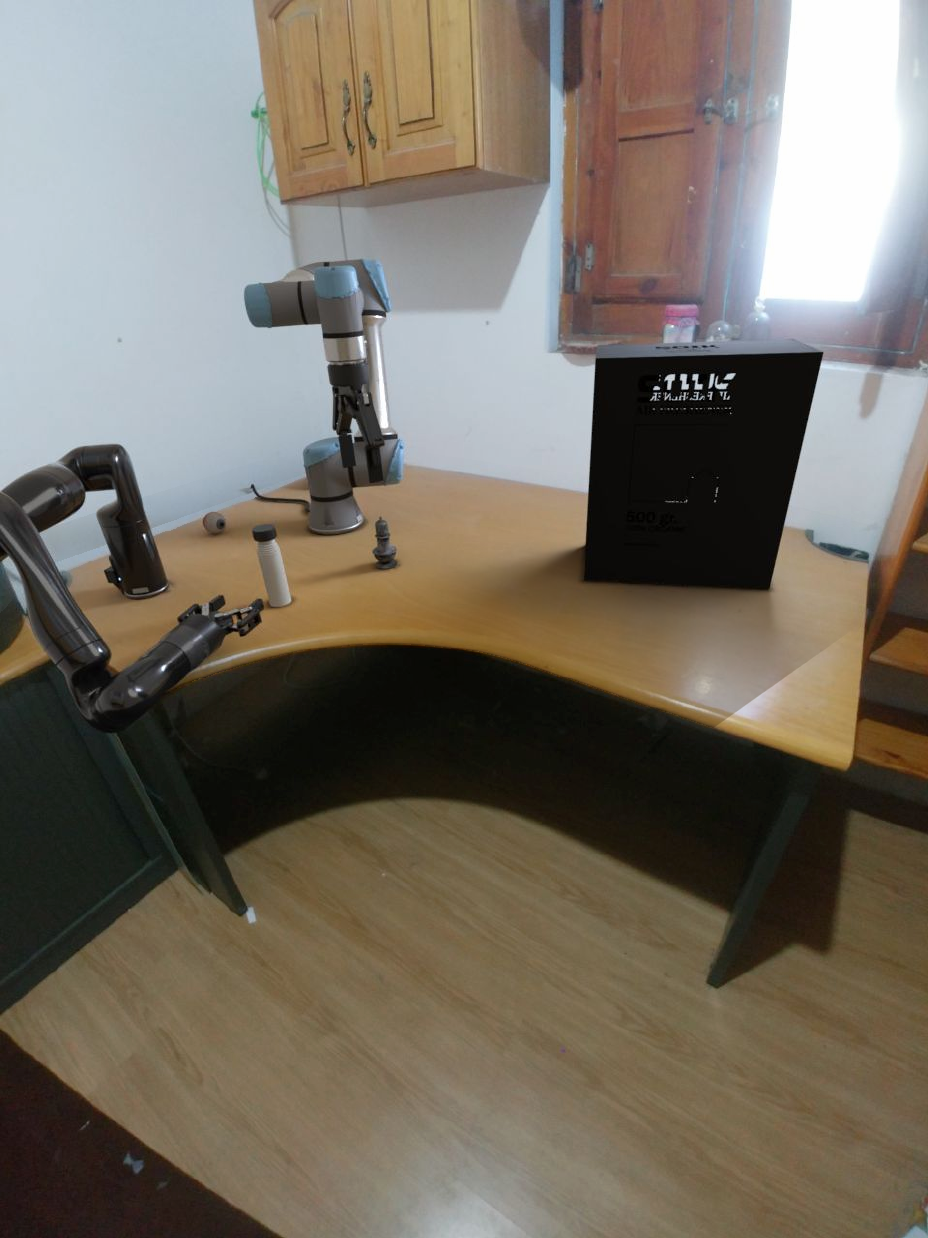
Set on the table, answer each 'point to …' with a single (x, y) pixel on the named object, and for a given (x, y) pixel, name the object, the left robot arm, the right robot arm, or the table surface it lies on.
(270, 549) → the bottle
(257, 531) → the cap
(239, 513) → the table surface
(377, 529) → the grey tall turned piece
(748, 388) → the cardboard box
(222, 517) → the eyeball
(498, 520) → the table surface
